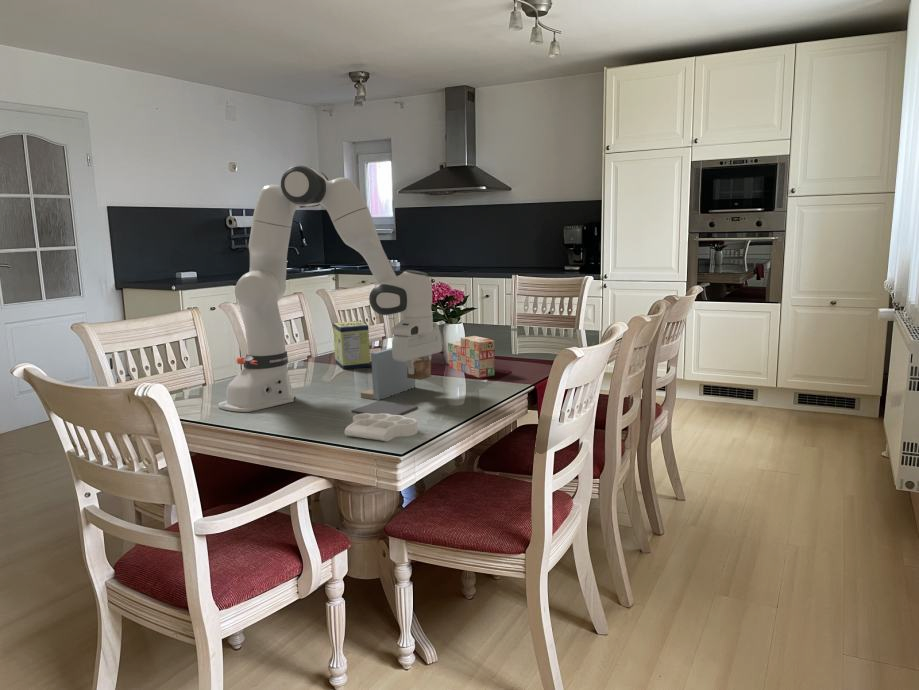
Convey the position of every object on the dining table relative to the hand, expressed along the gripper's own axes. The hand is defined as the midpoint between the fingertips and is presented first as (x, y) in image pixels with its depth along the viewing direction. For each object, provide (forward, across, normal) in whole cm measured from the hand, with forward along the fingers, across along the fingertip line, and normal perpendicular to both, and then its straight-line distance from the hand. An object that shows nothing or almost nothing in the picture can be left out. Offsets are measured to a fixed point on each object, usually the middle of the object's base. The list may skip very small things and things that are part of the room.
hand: (418, 371), depth 200 cm
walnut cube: (+2, 0, 0) cm, 2 cm away
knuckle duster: (+8, +33, +13) cm, 36 cm away
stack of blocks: (+8, -38, -6) cm, 39 cm away
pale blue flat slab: (+8, 0, -12) cm, 14 cm away
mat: (+8, +17, 0) cm, 18 cm away
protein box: (+8, -28, -53) cm, 60 cm away
